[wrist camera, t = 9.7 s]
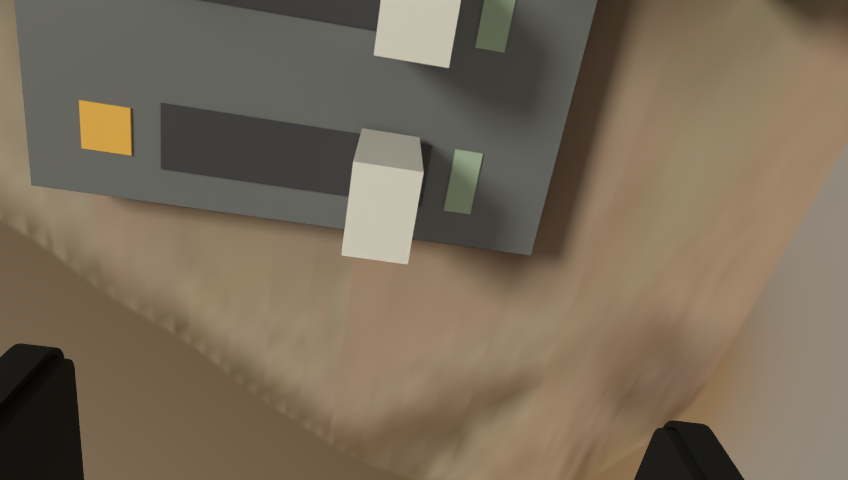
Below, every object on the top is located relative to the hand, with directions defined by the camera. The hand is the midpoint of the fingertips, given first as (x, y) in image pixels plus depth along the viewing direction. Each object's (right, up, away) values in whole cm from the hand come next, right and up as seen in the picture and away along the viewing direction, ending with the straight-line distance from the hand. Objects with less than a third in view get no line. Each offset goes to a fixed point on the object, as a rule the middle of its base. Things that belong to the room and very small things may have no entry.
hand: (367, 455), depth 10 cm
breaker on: (+1, +13, +13) cm, 18 cm away
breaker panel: (-4, +11, +17) cm, 21 cm away
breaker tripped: (-1, +6, +16) cm, 17 cm away
